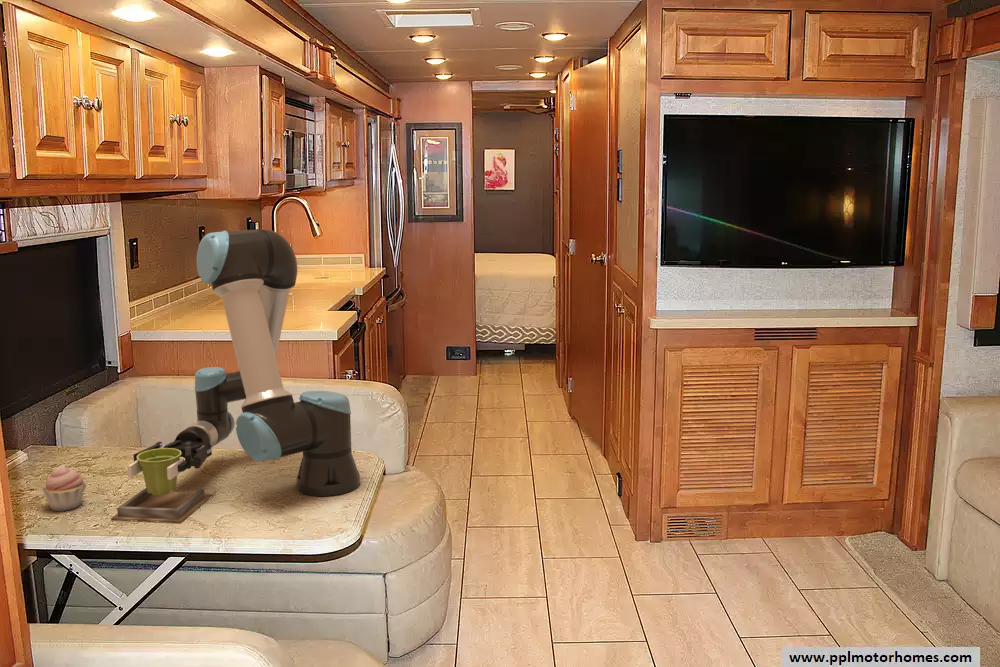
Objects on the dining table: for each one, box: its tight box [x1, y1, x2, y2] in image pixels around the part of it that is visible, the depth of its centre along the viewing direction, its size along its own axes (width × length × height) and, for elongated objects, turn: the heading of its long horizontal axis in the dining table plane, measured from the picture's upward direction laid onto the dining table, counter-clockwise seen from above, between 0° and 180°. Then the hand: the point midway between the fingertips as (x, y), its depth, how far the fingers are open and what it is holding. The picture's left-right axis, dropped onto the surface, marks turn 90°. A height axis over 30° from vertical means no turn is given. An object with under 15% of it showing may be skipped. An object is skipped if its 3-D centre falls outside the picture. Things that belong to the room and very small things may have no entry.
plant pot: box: [137, 448, 181, 495], centre depth 194 cm, size 9×9×9 cm
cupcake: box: [41, 464, 88, 512], centre depth 196 cm, size 9×9×10 cm
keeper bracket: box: [110, 487, 214, 524], centre depth 195 cm, size 16×16×2 cm
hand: (149, 472), depth 189 cm, fingers closed on plant pot, 8 cm apart
